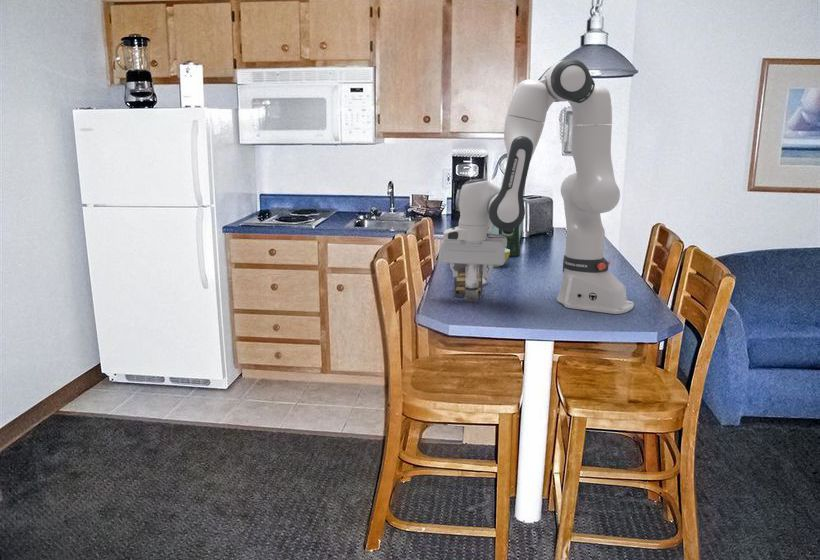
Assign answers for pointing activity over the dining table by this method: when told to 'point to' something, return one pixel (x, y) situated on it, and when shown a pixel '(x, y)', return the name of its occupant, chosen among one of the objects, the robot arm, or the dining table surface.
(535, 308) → the dining table surface
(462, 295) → the stand
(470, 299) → the metal cylinder
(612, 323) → the dining table surface
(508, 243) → the coffee jar
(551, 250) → the dining table surface
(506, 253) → the bowl
